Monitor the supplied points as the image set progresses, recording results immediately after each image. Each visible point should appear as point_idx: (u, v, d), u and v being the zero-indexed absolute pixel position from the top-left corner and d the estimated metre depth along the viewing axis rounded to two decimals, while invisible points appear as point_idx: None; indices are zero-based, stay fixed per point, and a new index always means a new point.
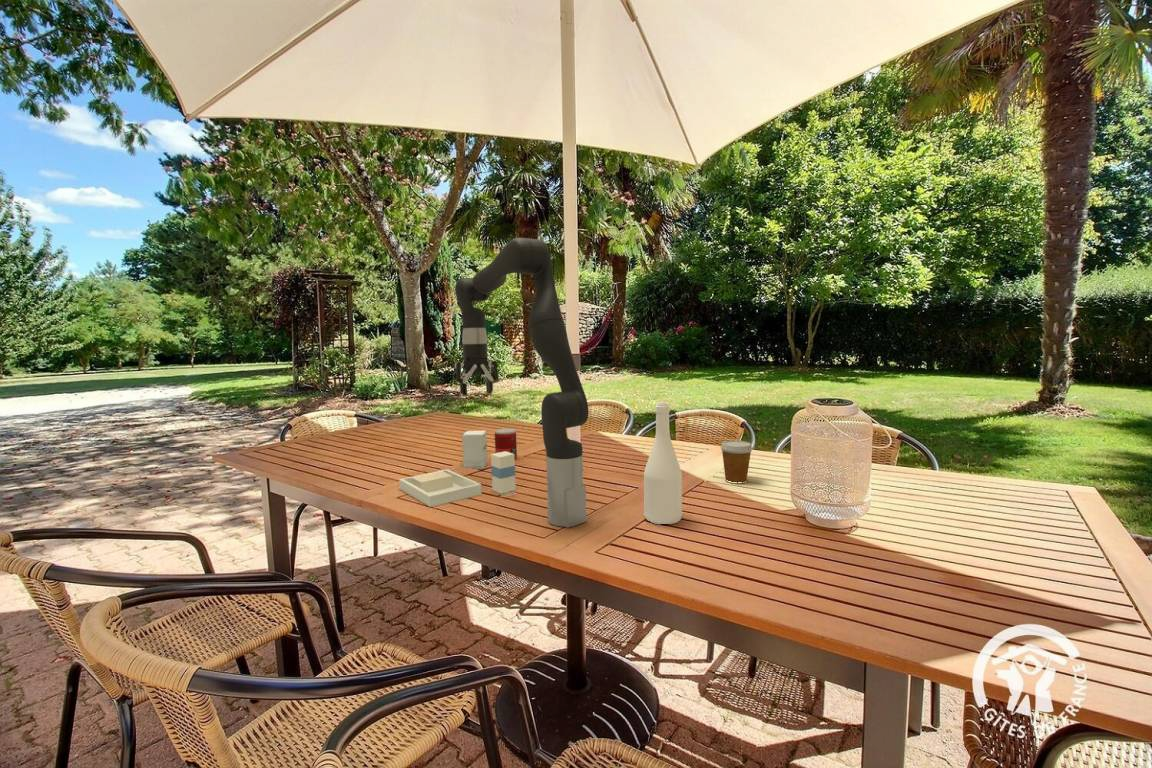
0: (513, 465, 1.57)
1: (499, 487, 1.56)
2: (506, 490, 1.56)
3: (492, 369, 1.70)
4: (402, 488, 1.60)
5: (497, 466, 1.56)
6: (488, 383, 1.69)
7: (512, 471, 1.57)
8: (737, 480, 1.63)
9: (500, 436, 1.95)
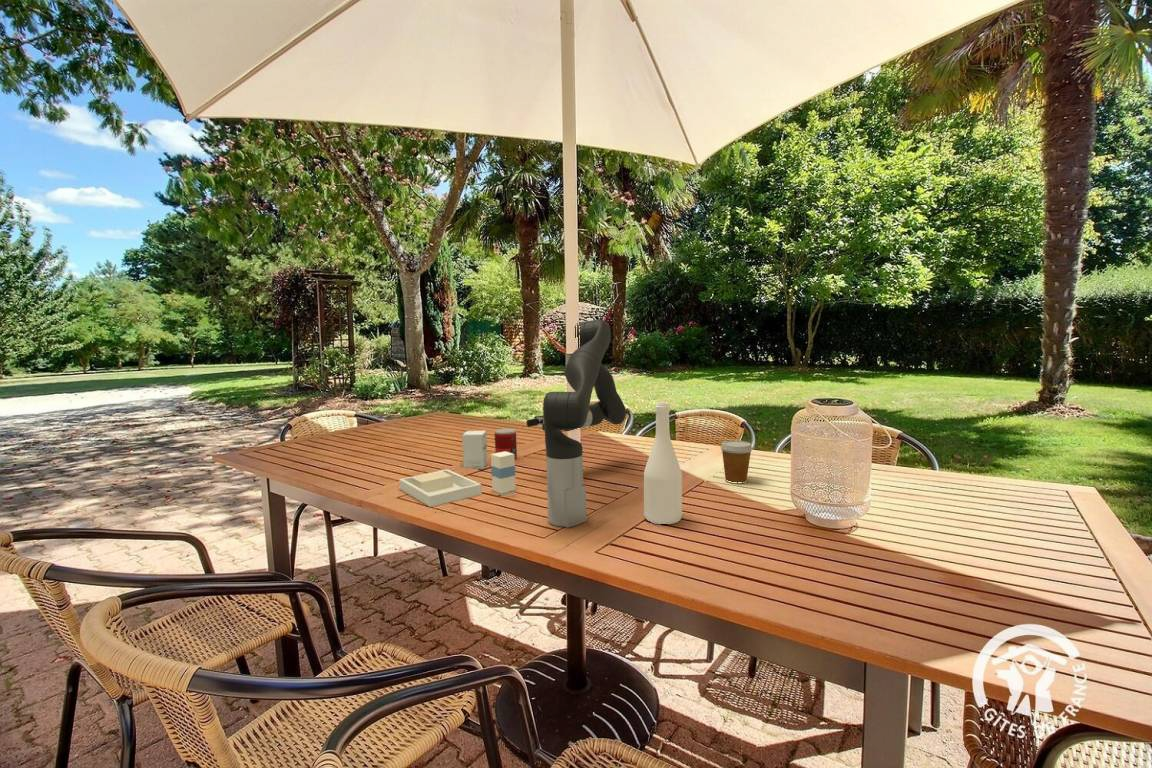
0: (513, 465, 1.57)
1: (499, 487, 1.56)
2: (506, 490, 1.56)
3: None
4: (402, 488, 1.60)
5: (497, 466, 1.56)
6: None
7: (512, 471, 1.57)
8: (737, 480, 1.63)
9: (500, 436, 1.95)
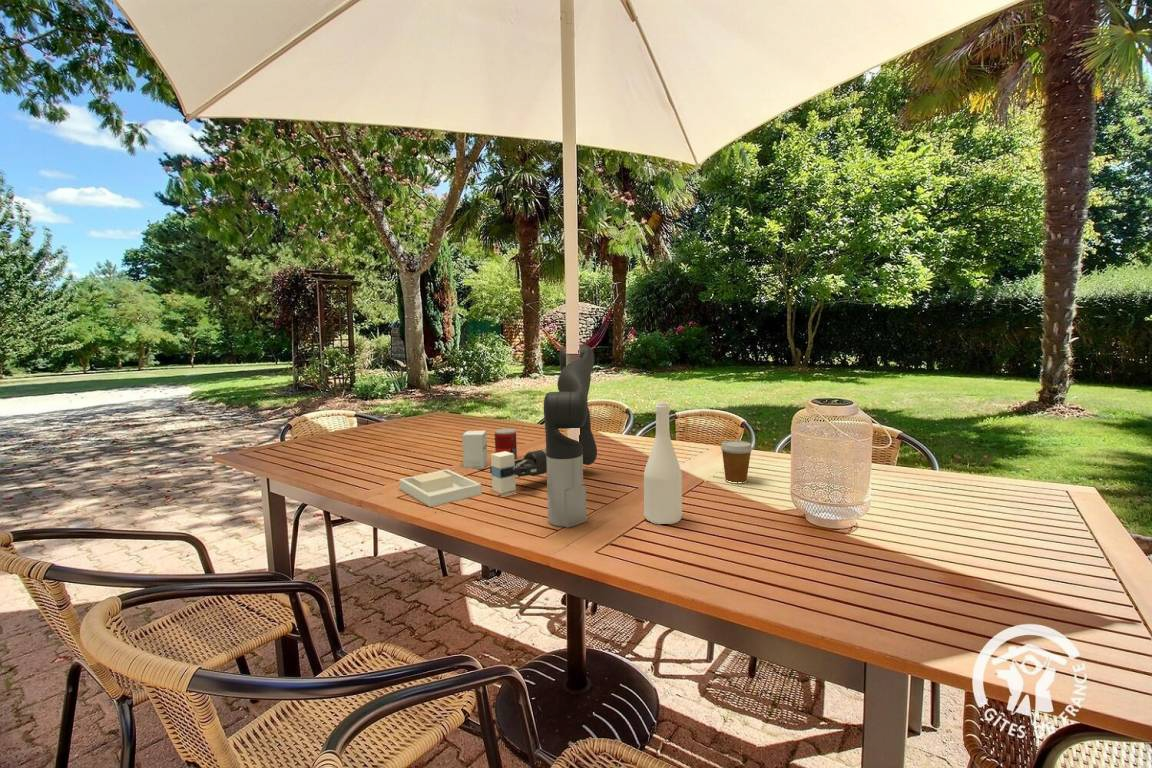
0: (513, 465, 1.57)
1: (499, 487, 1.56)
2: (506, 490, 1.56)
3: None
4: (402, 488, 1.60)
5: (497, 466, 1.56)
6: None
7: None
8: (737, 480, 1.63)
9: (500, 436, 1.95)
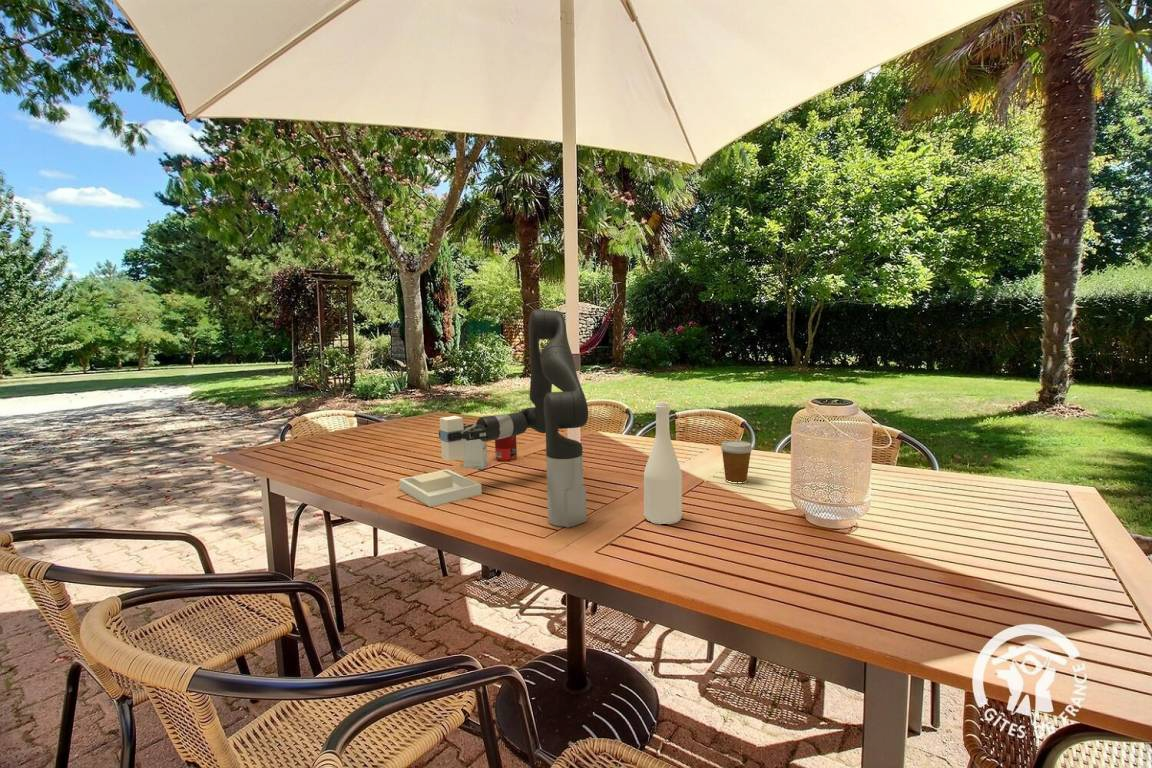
0: (462, 429, 1.54)
1: (447, 451, 1.52)
2: (454, 454, 1.53)
3: None
4: (402, 488, 1.60)
5: (445, 430, 1.52)
6: None
7: None
8: (737, 480, 1.63)
9: None
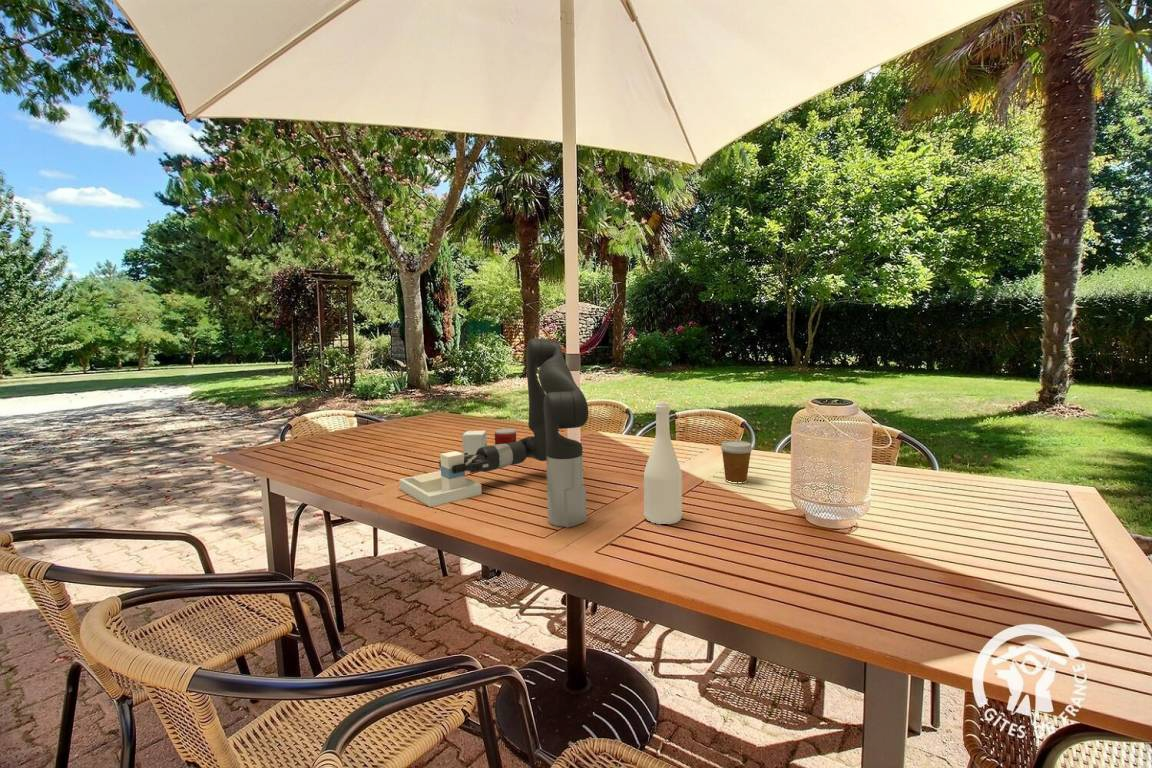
0: None
1: (448, 488, 1.53)
2: None
3: None
4: (402, 488, 1.60)
5: (446, 466, 1.53)
6: None
7: (461, 472, 1.55)
8: (737, 480, 1.63)
9: (500, 436, 1.95)
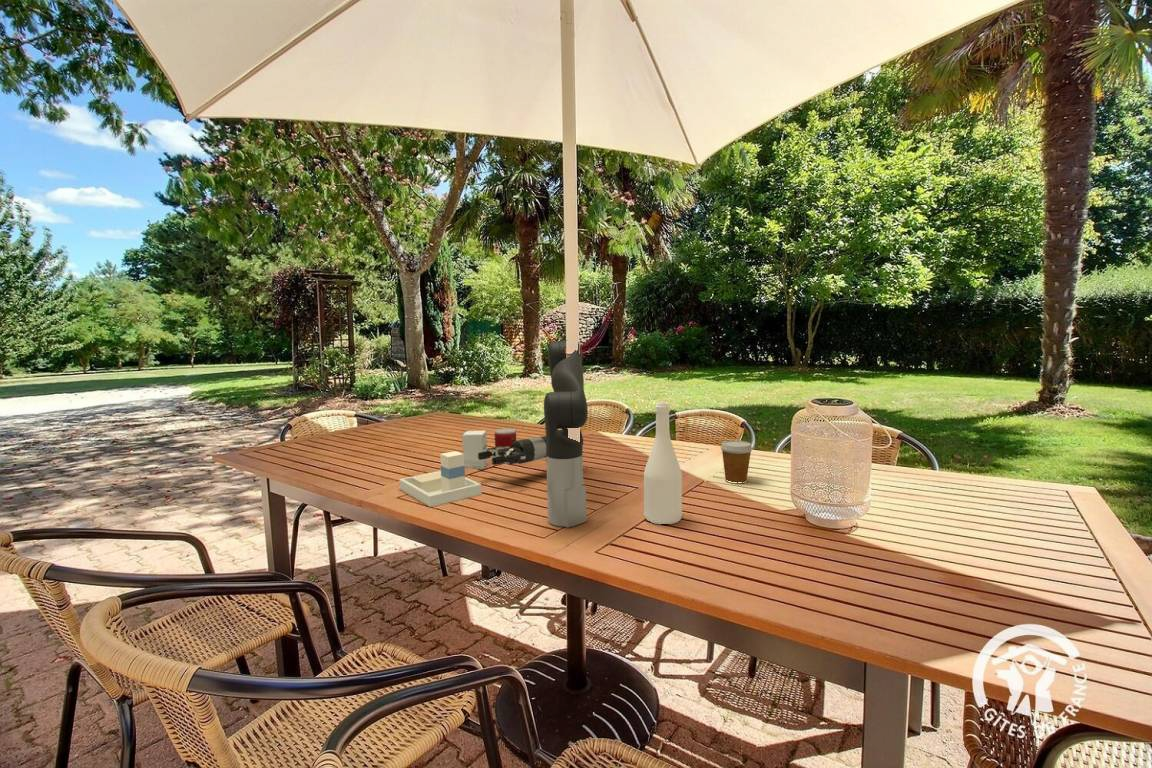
0: (462, 465, 1.55)
1: (448, 488, 1.53)
2: None
3: None
4: (402, 488, 1.60)
5: (446, 466, 1.53)
6: None
7: (461, 472, 1.55)
8: (737, 480, 1.63)
9: (500, 436, 1.95)
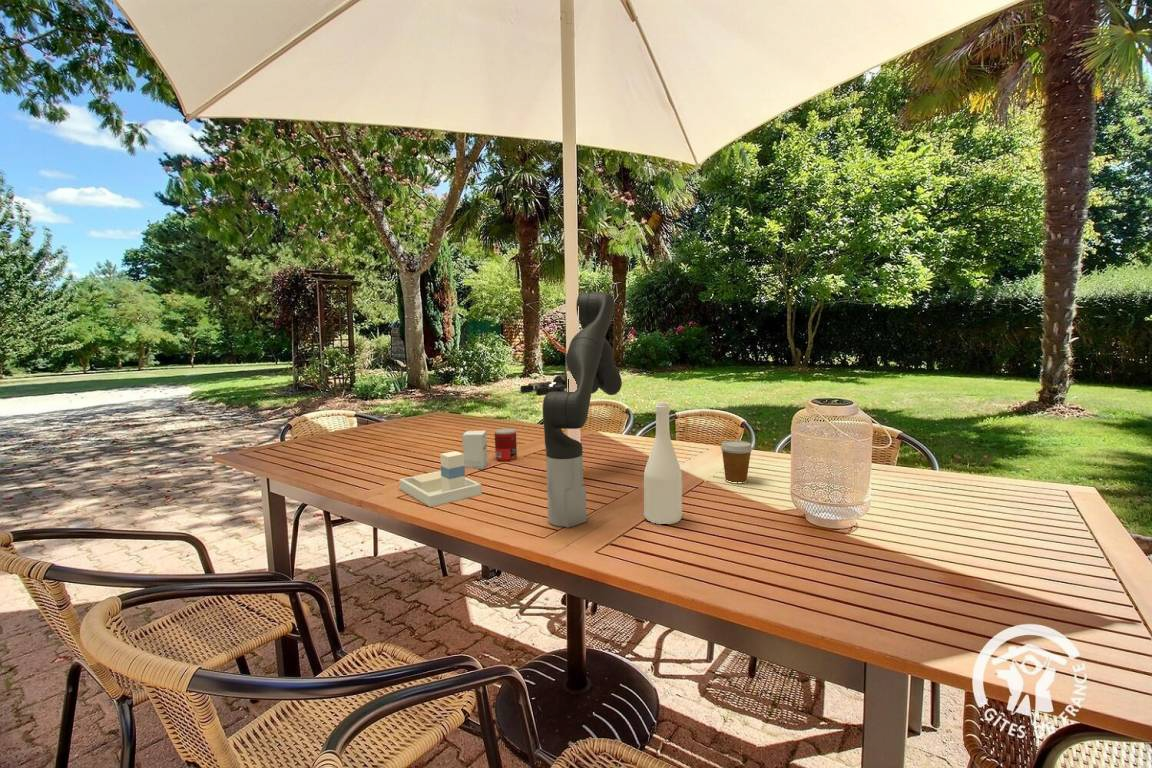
0: (462, 465, 1.55)
1: (448, 488, 1.53)
2: None
3: None
4: (402, 488, 1.60)
5: (446, 466, 1.53)
6: None
7: (461, 472, 1.55)
8: (737, 480, 1.63)
9: (500, 436, 1.95)
